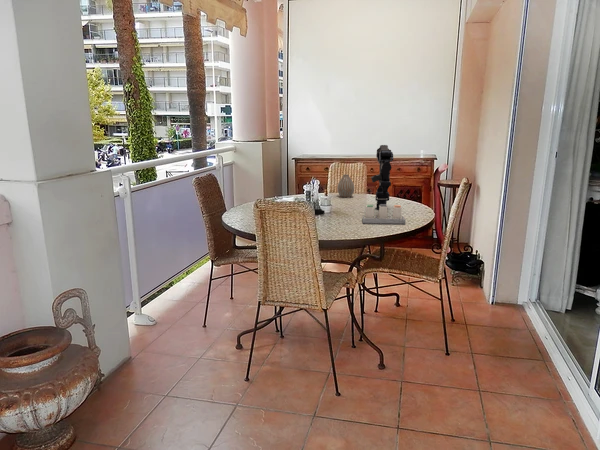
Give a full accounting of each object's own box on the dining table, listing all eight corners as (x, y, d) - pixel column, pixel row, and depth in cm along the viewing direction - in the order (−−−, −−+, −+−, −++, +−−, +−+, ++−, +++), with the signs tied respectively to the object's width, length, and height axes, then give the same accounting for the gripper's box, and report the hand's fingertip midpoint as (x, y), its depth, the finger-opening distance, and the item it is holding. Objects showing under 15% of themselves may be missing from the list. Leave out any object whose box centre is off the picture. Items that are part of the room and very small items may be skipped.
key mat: (362, 219, 267) (362, 218, 267) (402, 220, 264) (402, 218, 264) (362, 224, 256) (362, 222, 256) (405, 224, 253) (405, 223, 253)
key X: (378, 218, 265) (379, 203, 262) (386, 218, 264) (386, 204, 262) (379, 220, 260) (379, 205, 258) (386, 220, 260) (387, 205, 258)
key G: (365, 219, 263) (366, 204, 261) (373, 219, 263) (373, 204, 261) (365, 220, 259) (366, 205, 257) (373, 220, 259) (373, 206, 257)
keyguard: (362, 218, 266) (362, 214, 265) (403, 219, 263) (403, 215, 262) (362, 222, 256) (362, 218, 255) (405, 223, 253) (405, 219, 252)
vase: (340, 198, 335) (340, 176, 331) (335, 196, 348) (335, 174, 344) (356, 198, 338) (357, 175, 334) (350, 195, 351) (351, 173, 347)
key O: (392, 219, 262) (393, 204, 259) (400, 219, 261) (400, 204, 259) (393, 221, 257) (394, 206, 255) (401, 221, 257) (401, 206, 255)
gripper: (371, 168, 280) (370, 192, 284) (372, 172, 262) (371, 197, 266) (389, 168, 279) (388, 193, 282) (391, 172, 261) (390, 198, 264)
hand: (384, 195), depth 274 cm, fingers closed
